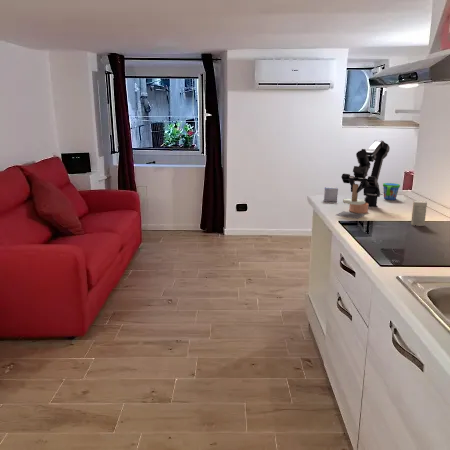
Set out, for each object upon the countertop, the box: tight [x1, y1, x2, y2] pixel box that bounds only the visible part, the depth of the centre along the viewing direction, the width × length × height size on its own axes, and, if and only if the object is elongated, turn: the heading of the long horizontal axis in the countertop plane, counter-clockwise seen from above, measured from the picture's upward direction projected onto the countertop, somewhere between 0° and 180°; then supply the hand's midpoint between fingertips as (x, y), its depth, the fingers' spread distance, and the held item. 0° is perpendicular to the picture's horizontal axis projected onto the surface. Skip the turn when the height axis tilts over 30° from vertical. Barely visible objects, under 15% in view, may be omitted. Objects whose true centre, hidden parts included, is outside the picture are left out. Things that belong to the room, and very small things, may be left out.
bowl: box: [348, 203, 369, 214], centre depth 251 cm, size 10×10×5 cm
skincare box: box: [410, 200, 428, 227], centre depth 224 cm, size 6×4×12 cm
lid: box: [342, 183, 366, 205], centre depth 241 cm, size 12×12×10 cm
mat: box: [335, 210, 366, 220], centre depth 241 cm, size 13×13×1 cm
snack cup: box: [382, 182, 401, 201], centre depth 290 cm, size 16×10×10 cm
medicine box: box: [323, 186, 339, 202], centre depth 279 cm, size 8×4×9 cm, turn 84°
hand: (354, 192), depth 240 cm, fingers closed on lid, 3 cm apart
